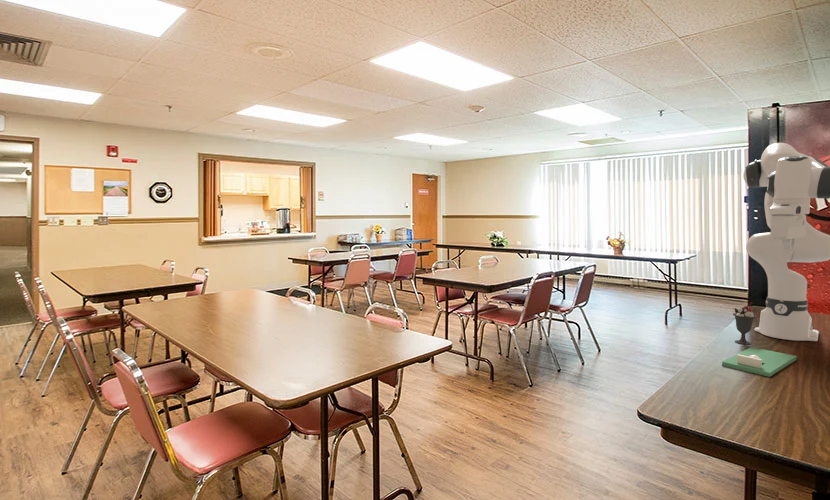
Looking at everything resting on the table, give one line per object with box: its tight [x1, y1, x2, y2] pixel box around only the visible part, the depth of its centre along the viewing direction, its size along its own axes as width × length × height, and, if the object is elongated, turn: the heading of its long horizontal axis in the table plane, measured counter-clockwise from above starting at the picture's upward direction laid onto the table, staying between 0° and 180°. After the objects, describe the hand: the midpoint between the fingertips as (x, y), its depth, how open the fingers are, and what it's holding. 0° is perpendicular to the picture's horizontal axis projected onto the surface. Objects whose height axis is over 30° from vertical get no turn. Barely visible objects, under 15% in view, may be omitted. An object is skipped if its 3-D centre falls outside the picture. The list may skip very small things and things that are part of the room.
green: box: [721, 346, 797, 378], centre depth 139 cm, size 24×12×4 cm, turn 125°
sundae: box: [732, 301, 757, 346], centre depth 159 cm, size 7×7×15 cm
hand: (788, 252), depth 139 cm, fingers closed
